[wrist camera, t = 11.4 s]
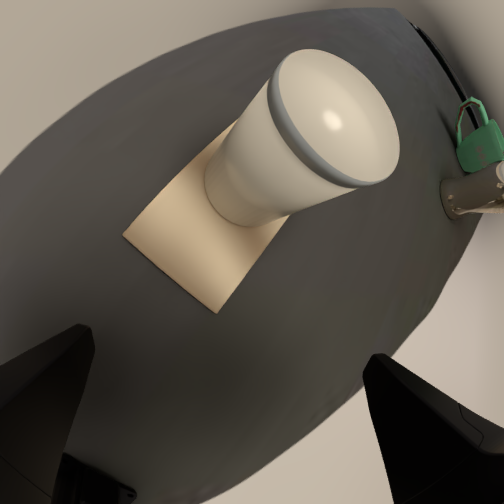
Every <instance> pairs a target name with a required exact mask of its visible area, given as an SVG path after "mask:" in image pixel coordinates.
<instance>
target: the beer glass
mask: <svg viewBox="0 0 504 504" xmlns="http://www.w3.org/2000/svg"><path fill="white" fill-rule="evenodd" d="M440 195H441V200H442V204H443V207H444V210H445V212H446V214H447V215H448V217H449V218H450V219H452V220H455V219H458V218H460V217H463V216H465V215H468V214H472V213H504V158H503V159H500V160H497V161H494V162H492V163H490V164H488V165H486V166H484V167H482V168H480V169H478V170H476V171H475V172H473V173H471V174H469V175H466V176H463V177H459V178H449V179H443V180H442V181H441V184H440Z"/></svg>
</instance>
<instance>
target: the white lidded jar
mask: <svg viewBox="0 0 504 504" xmlns="http://www.w3.org/2000/svg"><path fill="white" fill-rule="evenodd" d="M398 158H399V137H398V132H397V128H396V125H395V122H394V119H393V117H392V114H391V112H390V110H389V108H388V106H387V104H386V103H385V101H384V99H383V98H382V96H381V95H380V93H379V92H378V91H377V89H376V88H375V87H374V86H373V84H372V83H371V82H370V81H369V80H368V79H367V78H366V77H365V76H364V75H363V74H362V73H361V72H360V71H358V70H357V69H356V68H355V67H353V66H352V65H351V64H349V63H348V62H346V61H344V60H343V59H341V58H339V57H337V56H335V55H332V54H330V53H327V52H324V51H320V50H313V49H306V50H300V51H296V52H293V53H291V54H289V55H288V56H287V57H286V58H285V59H284V60H283V61H282V62H281V63H280V64H279V66H278V67H277V68H276V69H275V70H274V72H273V73H272V75H271V76H270V79H269V80H268V81H267V82H266V84H265V85H264V86H263V87H262V89H261V90H260V91H259V92H258V94H257V95H256V96H255V98H254V99H253V100H252V101H251V103H250V104H249V105H248V107H247V108H246V109H245V111H244V112H243V113H242V115H241V116H240V117H239V119H238V120H237V122H236V123H235V124H234V126H233V127H232V129H231V130H230V131H229V133H228V134H227V136H226V137H225V138H224V140H223V141H222V143H221V144H220V146H219V147H218V148H217V150H216V151H215V153H214V154H213V156H212V157H211V159H210V161H209V162H208V165H207V167H206V171H205V178H204V180H205V189H206V193H207V196H208V198H209V200H210V202H211V204H212V205H213V207H214V208H215V209H216V210H217V212H218V213H220V214H221V215H222V216H223V217H224V218H226V219H227V220H229V221H231V222H232V223H235V224H237V225H241V226H246V227H257V226H262V225H265V224H267V223H270V222H272V221H275V220H277V219H280V218H282V217H285V216H288V215H290V214H293V213H295V212H298V211H300V210H303V209H305V208H308V207H311V206H313V205H316V204H318V203H321V202H324V201H326V200H329V199H331V198H334V197H337V196H339V195H342V194H345V193H347V192H350V191H353V190H355V189H358V188H363V187H367V186H370V185H372V184H375V183H378V182H381V181H383V180H385V179H386V178H387V177H389V176H390V175H391V173H392V172H393V170H394V169H395V167H396V165H397V162H398Z"/></svg>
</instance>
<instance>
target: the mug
mask: <svg viewBox="0 0 504 504" xmlns="http://www.w3.org/2000/svg"><path fill="white" fill-rule="evenodd" d="M471 104H473V105H476V107H477V108H478V110H479V112H480V115H481V120H482V124H483V125H482V126H481V127H480V128H478V129H477V130H475V131H474V132H472V133H471V134H470V135H469V136H468V137H467V138H465V139H464V140H463V141H462V137H461V129H460V122H461V119H462V116H463V112H464V109H465V107H467V106H469V105H471ZM455 132H456V139H457V148H456V153H457V157H458V160H459V163H460V165H461V167H462V169H463V170H464V171H466V172H472V173H473V172H475V171H476V170H478V169H480V168H482V167H484V166H486V165H488V164H490V163H492V162H494V161H497V160H500V159H503V158H504V154H503V152H504V138H503V136H502V134H501V131H500V129H499V127H498V125H497V124H496V122H495V121H494V120H493V119H492V120H489V121H488V118H487V114H486V111H485V109H484V107H483V105H482V103H481V101H479V100H477V99H475V98H472V97H471V98H469V99H468V100H466V101H465V102H464V103H462V104H461V105H459V108H458V113H457V117H456V122H455Z"/></svg>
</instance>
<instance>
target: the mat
mask: <svg viewBox="0 0 504 504" xmlns="http://www.w3.org/2000/svg"><path fill="white" fill-rule="evenodd" d="M236 122H237V120H236V121H235V122H234V123H233V124H232V125H231V126H229V127H228V128H227V129H226V130H225V131H224V132H222V133H221V134H220V135H219V136H218V137H217V138H216V139H215V140H213V141H212V142H211V143H210V144H209V145H208V146H207V147H206V148H205V149H204V150H203V151H201V152H200V153H199V154H198V155H197V156H196V157H195V158H194V159H193V160H192V161H191V162H190V163H189V164H188V165H187V166H186V167H185V168H184V169H183V170H182V171H181V172H180V173H179V174H178V175H177V176H176V177H175V178H174V179H173V180H172V181H171V182H170V183H169V184H168V185H167V186H166V187H165V188H164V189H163V190H162V191H161V192H160V193H159V194H158V195H157V196H156V197H155V198H154V199H153V201H152V202H151V203H150V204H149V205H148V206H147V207H146V208H145V209H144V210H143V211H142V213H141V214H140V215H139V216H138V217H137V218H136V219H135V220H134V222H133V223H132V224H131V225H130V226H129V227H128V229H127V230H126V231H125V232H124V233H123V234H122V235H123V237H125V238H126V239H127V240H128V241H129V242H130V243H131V244H132V245H133V246H135V247H136V248H137V249H138V250H139V251H140V252H141V253H142V254H144V255H145V256H146V257H147V258H148V259H149V260H150V261H152V262H153V263H154V264H155V265H156V266H157V267H158V268H160V269H161V270H162V271H163V272H164V273H166V274H167V275H168V276H169V277H170V278H171V279H173V280H174V281H175V282H176V283H177V284H179V285H180V286H181V287H182V288H184V289H185V290H186V291H187V292H188V293H190V294H191V295H192V296H193V297H195V298H196V299H197V300H198V301H200V302H201V303H202V304H203V305H205V306H206V307H207V308H209V309H210V310H211V311H212V312H214V313H215V314H217V313H218V311H219V310H220V309H221V307H222V306H223V305H224V303H225V302H226V301H227V299H228V298H229V297H230V295H231V294H232V293H233V291H234V290H235V289H236V287H237V286H238V284H239V283H240V282H241V280H242V279H243V278H244V276H245V275H246V274H247V272H248V271H249V270H250V268H251V267H252V266H253V264H254V263H255V262H256V260H257V259H258V257H259V256H260V255H261V253H262V252H263V251H264V249H265V248H266V247H267V245H268V244H269V243H270V241H271V240H272V238H273V237H274V236H275V234H276V233H277V232H278V230H279V229H280V228H281V226H282V225H283V223H284V222H285V221H286V219H287V218H288V217H289V215H288V216H285V217H282V218H280V219H277V220H275V221H272V222H270V223H267V224H265V225H262V226H257V227H246V226H241V225H237V224H235V223H232V222H231V221H229V220H227V219H226V218H224V217H223V216H222V215H221V214H220V213H218V212H217V210H216V209H215V208H214V207H213V205H212V204H211V202H210V200H209V198H208V196H207V193H206V189H205V180H204V178H205V171H206V167H207V165H208V162H209V161H210V159H211V157H212V156H213V154H214V153H215V151H216V150H217V148H218V147H219V146H220V144H221V143H222V141H223V140H224V138H225V137H226V136H227V134H228V133H229V131H230V130H231V129H232V127H233V126H234V124H235V123H236Z"/></svg>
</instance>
